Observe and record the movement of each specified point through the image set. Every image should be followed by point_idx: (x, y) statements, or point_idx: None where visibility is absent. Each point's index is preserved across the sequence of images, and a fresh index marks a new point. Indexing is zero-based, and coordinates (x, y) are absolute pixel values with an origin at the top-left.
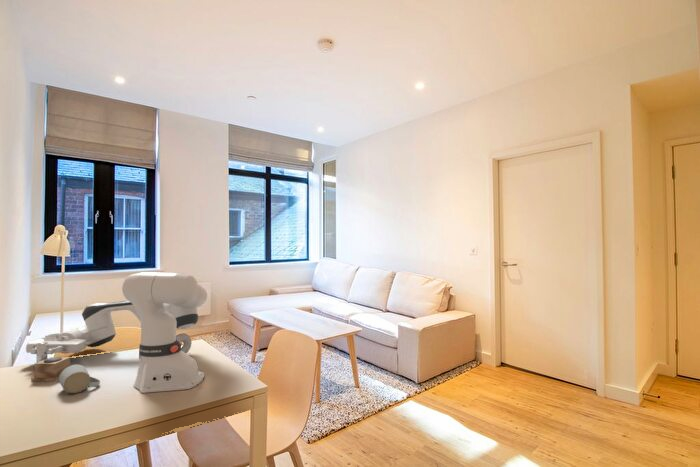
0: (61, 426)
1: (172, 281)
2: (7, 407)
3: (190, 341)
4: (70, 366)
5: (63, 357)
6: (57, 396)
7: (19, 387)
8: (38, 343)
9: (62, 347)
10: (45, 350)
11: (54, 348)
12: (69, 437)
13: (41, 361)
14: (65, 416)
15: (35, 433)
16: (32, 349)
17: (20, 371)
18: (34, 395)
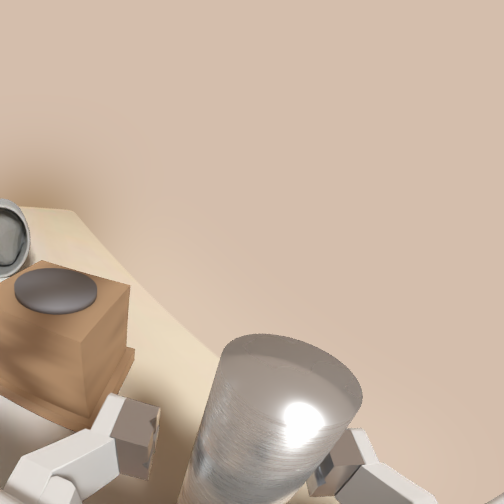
0: (31, 215)
1: None
2: (112, 258)
3: None
4: (8, 204)
5: (4, 308)
6: (32, 258)
7: (145, 326)
8: (317, 360)
9: (15, 486)
10: (197, 434)
11: (93, 426)
12: (26, 207)
13: (110, 297)
14: None
15: (54, 216)
16: (360, 431)
17: (324, 497)
18: None
